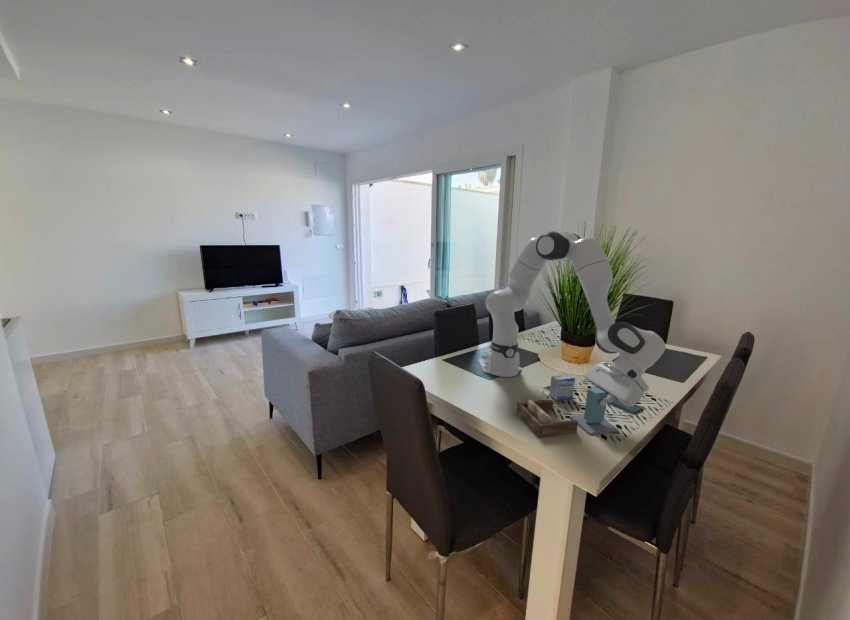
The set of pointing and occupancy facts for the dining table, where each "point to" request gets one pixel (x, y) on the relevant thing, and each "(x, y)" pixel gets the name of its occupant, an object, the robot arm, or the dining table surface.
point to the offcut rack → (545, 428)
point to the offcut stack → (538, 413)
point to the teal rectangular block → (595, 405)
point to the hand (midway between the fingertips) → (594, 401)
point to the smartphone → (631, 410)
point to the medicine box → (562, 387)
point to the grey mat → (594, 425)
